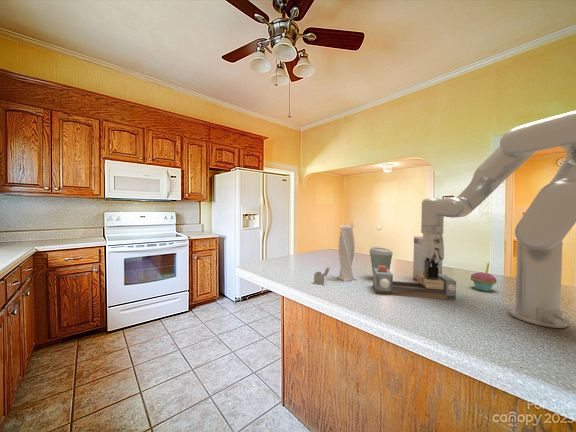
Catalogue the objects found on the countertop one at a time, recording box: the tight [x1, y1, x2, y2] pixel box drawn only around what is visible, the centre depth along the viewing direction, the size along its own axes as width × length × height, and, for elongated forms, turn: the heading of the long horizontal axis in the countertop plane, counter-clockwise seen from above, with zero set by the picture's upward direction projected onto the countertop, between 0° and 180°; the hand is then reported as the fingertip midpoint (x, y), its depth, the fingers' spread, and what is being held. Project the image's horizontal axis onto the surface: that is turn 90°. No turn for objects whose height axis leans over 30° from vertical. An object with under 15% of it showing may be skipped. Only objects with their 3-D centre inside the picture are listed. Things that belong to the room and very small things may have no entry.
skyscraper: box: [336, 222, 358, 282], centre depth 114 cm, size 8×8×28 cm
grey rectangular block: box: [438, 273, 457, 301], centre depth 93 cm, size 11×3×7 cm, turn 168°
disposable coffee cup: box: [369, 246, 393, 272], centre depth 115 cm, size 11×11×15 cm
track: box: [372, 280, 457, 301], centre depth 96 cm, size 10×28×3 cm, turn 78°
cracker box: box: [412, 235, 443, 283], centre depth 109 cm, size 14×6×21 cm, turn 179°
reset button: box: [378, 265, 387, 272], centre depth 99 cm, size 3×3×4 cm
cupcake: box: [470, 261, 497, 292], centre depth 100 cm, size 9×8×12 cm
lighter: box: [313, 266, 331, 286], centre depth 107 cm, size 7×2×8 cm, turn 67°
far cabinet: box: [372, 268, 394, 296], centre depth 98 cm, size 11×6×8 cm, turn 168°
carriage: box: [419, 260, 444, 290], centre depth 95 cm, size 8×6×10 cm
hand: (431, 275), depth 95 cm, fingers closed on carriage, 3 cm apart
